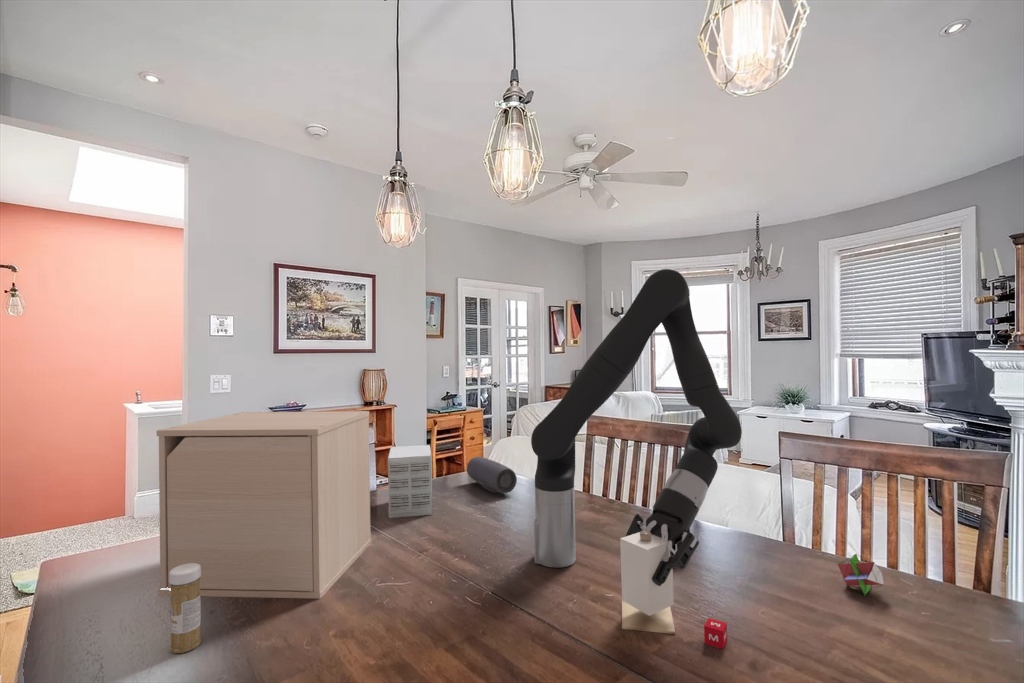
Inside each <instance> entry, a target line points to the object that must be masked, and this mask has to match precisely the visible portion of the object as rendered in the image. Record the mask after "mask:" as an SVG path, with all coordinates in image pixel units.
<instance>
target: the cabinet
mask: <svg viewBox="0 0 1024 683" xmlns="http://www.w3.org/2000/svg"><path fill="white" fill-rule="evenodd" d="M369 417H370V411H369V410H353V411H352V410H348V411H347V410H344V411H341V410H340V411H338V410H336V411H332V410H331V411H254V412H253V411H250V412H249V411H246V412H245V411H241V412H236V413H234V414H233V413H231V414H227V415H224V416H219V417H218V416H217V417H214V418H209V419H204V420H200V421H195V422H190V423H185V424H180V425H177V426H176V425H175V426H171V427H165V428H162V429H158V430H156V437H158V483H159V485H158V486H159V487H158V489H159V490H158V492H159V497H158V499H159V572H160V573H159V575H160V576H159V577H160V578H159V579H160V580H159V581H160V582H159V586H160V587H159V589H160V588H167V587H168V588H171V586H170V583H169V573H170V571H171V570H172V569H173V568H175V567H177V566H180V565H184V564H189V563H197V564H199V565H200V566H201V576H200V597H220V598H221V597H222V598H223V597H225V598H226V597H227V598H272V599H273V598H275V599H285V598H286V599H318V600H320V599H322V597H323V596H324V595H325V594H327V592H328V591H329V590H330V589H331V588H332V587H333V585H335V583H336V582H337V581H338V580H339V579H340V578H341V577H342V575H343V574H344V573H345V572H346V571H347V570H348V569H349V568H350V567H351V566H352V565H353V564H354V562H355V561H356V560H357V559H358V558H359V557H360V556H361V555H362V554H363V553H364V552H365V551H366V549H367V548H368V547H369V546H370V545H371V544H372V536H371V534H372V533H371V531H372V530H371V489H370V488H371V481H370V480H371V477H370V476H371V475H370V474H371V472H370V468H371V467H370V419H369ZM159 589H158V590H157V592H158V593H157V595H158V596H167V597H168V596H170V597H171V591H169V590H159Z"/></svg>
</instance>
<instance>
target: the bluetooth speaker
mask: <svg viewBox="0 0 1024 683" xmlns="http://www.w3.org/2000/svg"><path fill="white" fill-rule="evenodd" d="M466 472H467V474H468V477H470V478H471V479H472V480H473V481H475V482H476V483H478V484H480V485H481V487H482V488H483V489H485V490H487V491H489V492H491V493H493V494H495V493H500V494H501V493H502V494H508V493H510V492H512V491H513V490H514V489H515V487H516V484H517V480H518V479H517V474H516V473H515V471H514V470H513V469H511V468H509V467H508V466H506V465H504V464H502V463H500V462H497V461H494V460H493V459H491V458H486V457H482V456H475V457H471V459H470V460H469V462H468V463H467V466H466Z"/></svg>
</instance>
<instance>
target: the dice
mask: <svg viewBox="0 0 1024 683" xmlns="http://www.w3.org/2000/svg"><path fill="white" fill-rule="evenodd" d="M703 631H704V632H703V635H704V636H703V637H704V641H703V642H704V643H703V644H705V645H708V646H712V647H715V648H718V649H721V650H724V648H725V647H726V645H727V642H728V623H727V622H724V621H721V620H717V619H714V618H711V617H708V618H707V620H706V621H705V624H704V626H703Z"/></svg>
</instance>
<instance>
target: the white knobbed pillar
mask: <svg viewBox="0 0 1024 683" xmlns="http://www.w3.org/2000/svg"><path fill="white" fill-rule="evenodd" d="M625 536H626V535H625ZM625 536H623V537H620V538H619V541H620V542H619V544H620V549H619V550H620V574H621V576H620V577H621V602H622V601H624V602H625V603H627V604H629V605H631V606H633V607H634V608H636V609H638V610H640V611H641V612H643V613H645V614H647V615H649V616H650V615H652V614H654V613H657V612H659V611H661V610H663V609H665V608H668V607H670V608H671V606H674V605H675V601H674V599H675V598H674V594H675V592H674V572H673V570H674V568H673V569H671V571H670V573H669V575H668V577H667V579H666V581H665V582H664V583H663V584H662V585H661V586H658V585H656V584H655V583H654V582H653V581H652V577H653V575H654V573H655V571H656V569H657V567H658V565H659V563H660V561H663V555H664V553H665V551H666V545H667V542H665V541H662V538H660V537H658V536H655V535H653V534H651V533H650V532H648V531H642V532H639V533H635V534H632V535H629V536H626V537H625ZM668 543H669V544H670V546H671V547H672V541H670V540H669V542H668ZM670 557H671V553H670Z"/></svg>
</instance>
